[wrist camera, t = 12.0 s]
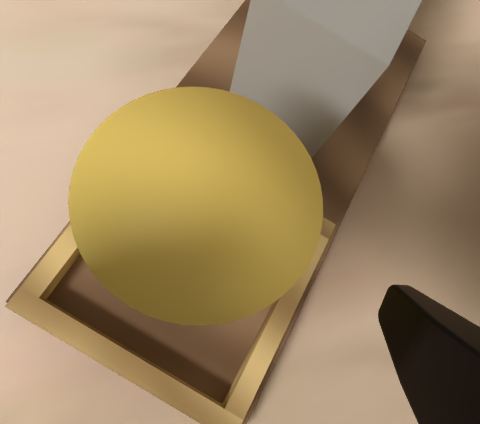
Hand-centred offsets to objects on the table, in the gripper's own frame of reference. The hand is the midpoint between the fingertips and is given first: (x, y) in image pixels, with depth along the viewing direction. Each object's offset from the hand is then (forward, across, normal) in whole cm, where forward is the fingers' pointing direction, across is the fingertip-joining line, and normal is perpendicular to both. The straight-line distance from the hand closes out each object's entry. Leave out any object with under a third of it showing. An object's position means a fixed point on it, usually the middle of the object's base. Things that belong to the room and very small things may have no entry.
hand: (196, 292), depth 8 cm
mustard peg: (+9, 0, +6) cm, 11 cm away
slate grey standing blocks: (+19, -8, -4) cm, 21 cm away
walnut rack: (+16, -4, +1) cm, 16 cm away
